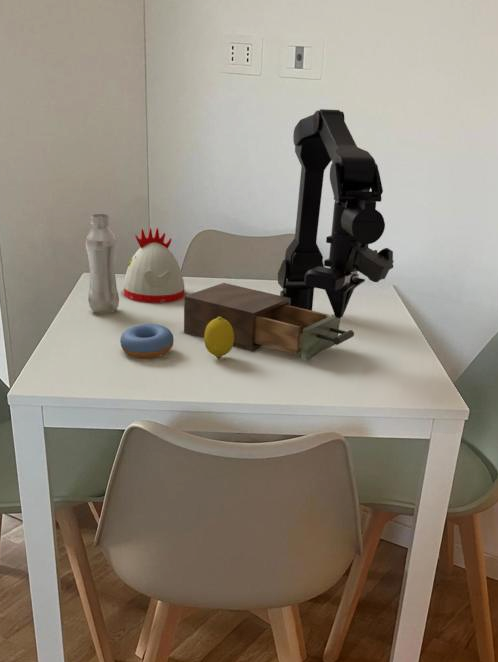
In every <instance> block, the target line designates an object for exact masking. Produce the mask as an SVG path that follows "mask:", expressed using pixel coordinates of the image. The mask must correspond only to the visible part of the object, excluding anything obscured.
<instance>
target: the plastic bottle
mask: <svg viewBox="0 0 498 662" xmlns="http://www.w3.org/2000/svg"><path fill="white" fill-rule="evenodd" d="M90 220H91V221H90V225H91V226H92V228H91V229H90V230H89V232H88V234H87V236H86V238H85V249H86V253H87V258H88V267H89V290H88V296H87V298H88V305H89V308H90V309H91V311H93V312H95V313H103V314H105V313H113V312H115V311H116V310H117V309H118V308H119V305H120V296H119V291H118V287H117V279H116V257H117V247H118V242H117V239H116V236H115V235H114V233H113V232H112V230H111V229H110V226H111V222H110V215H109V214H106V213H94V214H91V217H90Z"/></svg>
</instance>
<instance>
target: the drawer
mask: <svg viewBox="0 0 498 662" xmlns="http://www.w3.org/2000/svg"><path fill="white" fill-rule="evenodd" d="M340 323H341V318H336V317H335V314H334V313H333V314H332V315H330V316H328V313H324V312H319V311H316V310H312V311H311V310H307V309H303V308H298V307H294V306H290V305H286V304H284V305H282V306H279V307H277V308H274V309H272V310H269V311H267V312H265V313H262V314H260V315H257V316H256V319H255V338H254V343H256V344H259V345H263V346H262V347H267V348H270V349H275V350H279V351H283V352H287V353H290V354H293V355H299V354H300V359H301V360H305V361H307V360H309V359H311V358H313V357H315V356H316V355H318V354H321V353H322V352H324V351H326V350H328V349H330V348H332V347H334V346H338V345H340V344H343V343H344V342H346V341H347V340H350V339H351V338H354V336H355V332H354V330H352V329H349V330H344V329H340V325H341V324H340Z"/></svg>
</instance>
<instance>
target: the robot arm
mask: <svg viewBox="0 0 498 662" xmlns="http://www.w3.org/2000/svg"><path fill="white" fill-rule="evenodd" d="M292 137H293V139H292V140H293V145H294V153H295V155H296V157H297V160H298V162H299V164H300V177H299V189H298V201H297V210H296V221H295V231H294V238H293V239H292V241H291V242H290V244H289V245H288V246H287V248H286V249H285V253H284V254H285V255H284V259H283V260H282V262H281V264H280V267H279V269H278V272H277V284H278V285H279V286H280V288H281V289H282V290H280V292H279V296H284V297H288V298H291V302H290V306H294V307H298V308H303V309H307V310H311V311H313V306H314V305H313V304H314V293H315V289H319V290H324V291H325V293H326V295H327V298H328V300H329V304H330V306H331V308H332V309H331V310H332V311H333V315H334V314H335V317H336V318H340V319H342V318H343V317H344V315H345V312H346V309H347V307H348V305H349V302H350V299H351V298H352V295H353V293H354V291H355V289H356V288H357V287H359V286H360V285H361V284H364V282H365V281H366V279H365V278H361V277H359V276H360V275H359V273H360V274H361V275H364V276H365V277H366V278H368V280H369V281H371V282H374V283H379V282H380V281H381V280H386V278H387V276H388V273H389V271H390V270H392V269H393V268H394V262H395V260H394V251H393V250H392V249H390V248H389V247H385V248H382V249H381V250H379V251H378V250H377V249H374V250H373V249H371V248H370V247H369V245H371V244H374V243H376V242H377V241H378V240H380V238H381V237H382V236H383V234H384V232H385V229H386V223H385V219H384V216H383V214H382V213H381V212H380V211H378V210H377V209H376V208H377V203H381V202H382V194H383V192H384V189H383V185H382V179H381V174H380V170H379V166H378V164H377V163H376V160H375V158H374V157H373V156H372V155H371V153H370V152H369V151H368V150H365V149H363V148H360V147H359V146H358V145H357V144H356V141H355V139H354V137H353V134H352V133H351V132H350V130H349V127H348V126H347V123H346V121H345V113H344V111H342V110H340V109H325V108H320V109H319V110H315V112H314V113H313V114H311V115H309V116H306V117H304V118H301V119H300V120H299V121H298V122H297V124H296V125H295V127H294V129H293V135H292ZM330 163H331V164H330ZM329 165H330V168H329V182H330V186H331V189H332V194H333V200H334V203H333V212H332V213H333V214H332V215H333V216H332V224H331V232H330V233H331V235H328V236H326V239H325V243H326V244H330V245H329V255H328V256H329V257H328V258H326V259H324V257H323V254H322V251H321V250H320V248H319V246H318V244H317V239H318V230H319V222H320V221H319V220H320V211H321V202H322V195H323V184H324V176H325V170H326V169H327V167H328V166H329ZM323 259H324V261H323ZM358 272H359V273H358Z"/></svg>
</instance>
